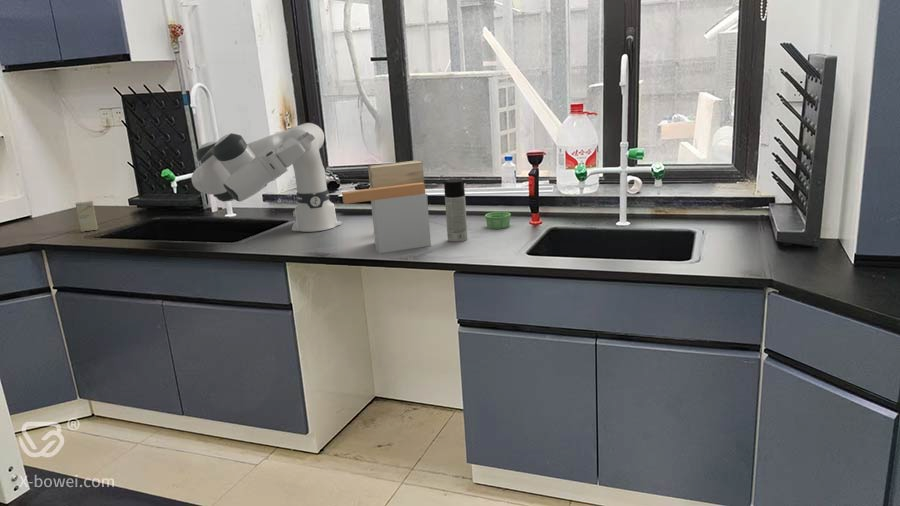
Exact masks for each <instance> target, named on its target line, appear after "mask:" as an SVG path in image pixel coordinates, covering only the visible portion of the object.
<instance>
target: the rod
mask: <svg viewBox="0 0 900 506" xmlns="http://www.w3.org/2000/svg"><path fill="white" fill-rule="evenodd" d="M425 193H426V186H425V182H424V183H422V182H420V183H412V184H404V185H396V186H388V187H379V188H371V189H370V188H364V189H356V190H350V191H349V190H347V191H341V195H342V196H341V197H342V203H343V204H344V205H346V204H347V205H348V204H354V203H362V202H371V200H379V199H387V198H395V197H402V196H410V195H418V194H425Z"/></svg>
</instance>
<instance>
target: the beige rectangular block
mask: <svg viewBox="0 0 900 506" xmlns="http://www.w3.org/2000/svg"><path fill="white" fill-rule="evenodd" d="M423 164H424V163H423V162H422V161H420V160H409V161H400V162H392V163H391V162H390V163H383V164H382V163H381V164H372V165H367V168H368V169H367V171H368V179H369V189H371V188H379V187H388V186H396V185H404V184H412V183H420V182H422V183H424V184H425V177H424V165H423Z"/></svg>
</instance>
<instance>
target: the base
mask: <svg viewBox="0 0 900 506" xmlns="http://www.w3.org/2000/svg"><path fill="white" fill-rule="evenodd" d="M370 203H371V217H372V225H373V235H374V236H373V237H374V244H375V250H376V251H377V252H378V253H379V254H385V253H390V252H398V251H405V250H411V249H417V248H418V249H419V248H424V247H430V246H432V243H431V230H430V218H429V216H430V215H429V206H428V203H429V202H428V194H427V193H426V192H425V194H418V195H410V196H402V197H395V198H387V199H379V200H371V201H370Z"/></svg>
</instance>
